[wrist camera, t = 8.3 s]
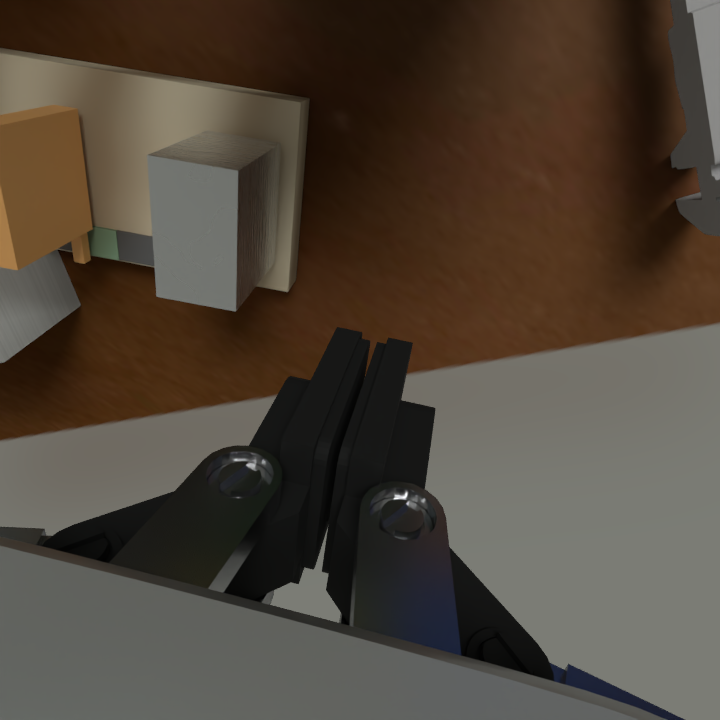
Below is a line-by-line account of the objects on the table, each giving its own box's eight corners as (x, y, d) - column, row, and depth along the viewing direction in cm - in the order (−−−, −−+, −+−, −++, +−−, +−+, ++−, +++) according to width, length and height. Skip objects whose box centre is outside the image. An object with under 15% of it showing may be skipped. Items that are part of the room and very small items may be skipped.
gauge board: (309, 98, 23) (256, 123, 17) (296, 279, 27) (249, 351, 21) (-60, 38, 24) (-233, 41, 18) (-18, 221, 28) (-147, 275, 22)
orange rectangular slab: (77, 108, 22) (-12, 127, 18) (96, 260, 26) (25, 306, 22) (53, 104, 23) (-41, 122, 18) (75, 256, 26) (0, 301, 22)
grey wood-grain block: (280, 142, 22) (238, 170, 18) (274, 262, 25) (235, 311, 20) (206, 130, 22) (146, 154, 18) (208, 250, 25) (156, 296, 21)
